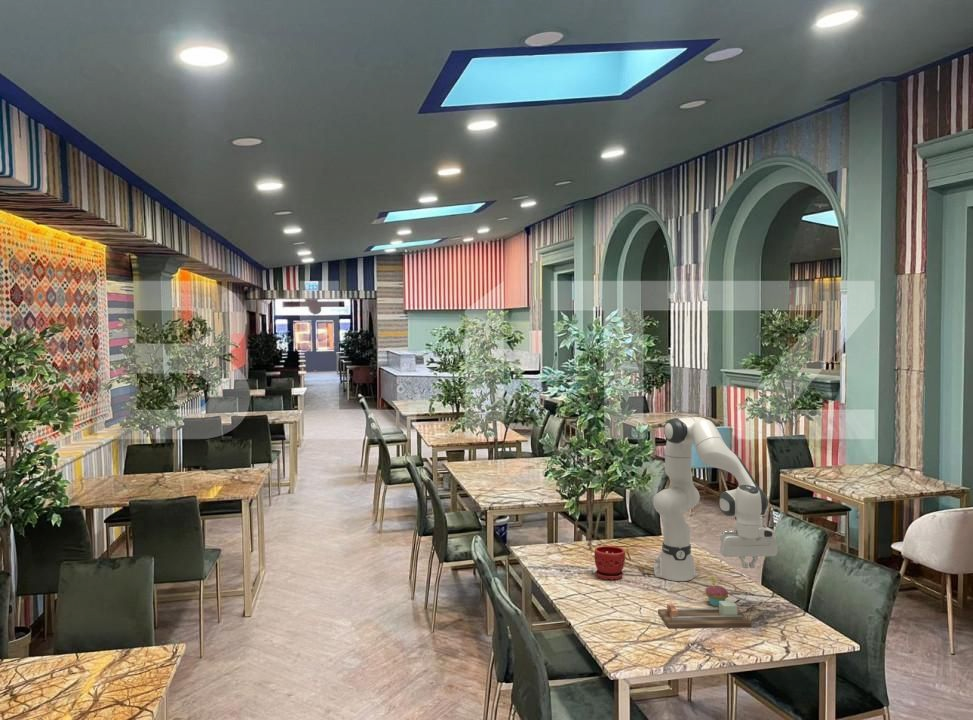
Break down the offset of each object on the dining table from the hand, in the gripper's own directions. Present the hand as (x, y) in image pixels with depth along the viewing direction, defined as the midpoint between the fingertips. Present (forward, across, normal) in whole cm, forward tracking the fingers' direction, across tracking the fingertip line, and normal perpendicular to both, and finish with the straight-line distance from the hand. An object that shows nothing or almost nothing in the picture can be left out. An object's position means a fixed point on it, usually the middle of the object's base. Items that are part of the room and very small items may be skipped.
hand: (748, 567), depth 262 cm
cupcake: (+19, -6, +15) cm, 25 cm away
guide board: (+19, -16, 0) cm, 25 cm away
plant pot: (+19, -42, +49) cm, 67 cm away
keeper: (+18, -8, 0) cm, 19 cm away
